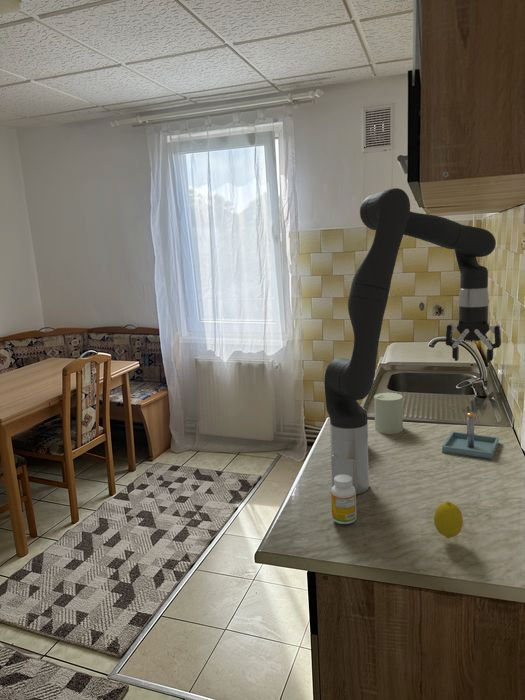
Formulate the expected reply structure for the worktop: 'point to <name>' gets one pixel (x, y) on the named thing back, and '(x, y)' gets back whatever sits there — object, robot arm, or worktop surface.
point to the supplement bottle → (343, 500)
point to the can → (388, 413)
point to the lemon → (448, 519)
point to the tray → (481, 449)
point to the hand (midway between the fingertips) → (472, 361)
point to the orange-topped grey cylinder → (470, 430)
